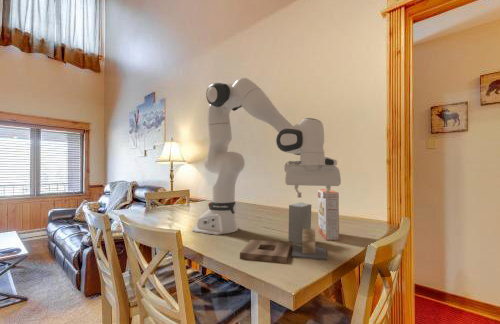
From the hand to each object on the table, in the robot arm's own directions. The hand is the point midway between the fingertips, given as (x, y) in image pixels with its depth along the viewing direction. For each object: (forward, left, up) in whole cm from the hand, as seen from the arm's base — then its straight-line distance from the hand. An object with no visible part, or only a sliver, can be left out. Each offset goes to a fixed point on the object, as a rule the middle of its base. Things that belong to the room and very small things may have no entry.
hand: (312, 197), depth 94 cm
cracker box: (+7, +23, -20) cm, 31 cm away
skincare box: (-5, +12, -20) cm, 24 cm away
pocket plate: (-16, -6, -20) cm, 26 cm away
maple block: (-1, -2, -19) cm, 20 cm away
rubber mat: (-1, -2, -20) cm, 20 cm away
